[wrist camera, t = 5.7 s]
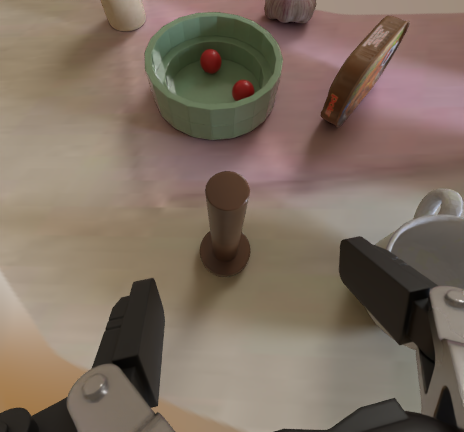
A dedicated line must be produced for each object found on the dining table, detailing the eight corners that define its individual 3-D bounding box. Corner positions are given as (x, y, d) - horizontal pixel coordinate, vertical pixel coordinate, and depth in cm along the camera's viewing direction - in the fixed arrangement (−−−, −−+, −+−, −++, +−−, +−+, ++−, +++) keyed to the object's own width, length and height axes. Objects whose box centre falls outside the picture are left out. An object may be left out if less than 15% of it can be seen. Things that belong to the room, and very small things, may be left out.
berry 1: (216, 61, 36) (215, 41, 34) (224, 74, 36) (225, 55, 33) (197, 67, 36) (195, 47, 33) (206, 80, 35) (204, 61, 32)
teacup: (443, 375, 24) (544, 400, 16) (328, 319, 25) (374, 318, 18) (462, 241, 28) (547, 212, 21) (365, 200, 30) (413, 161, 22)
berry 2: (247, 90, 35) (249, 71, 32) (257, 105, 34) (259, 87, 31) (228, 96, 34) (228, 78, 32) (237, 112, 33) (238, 94, 31)
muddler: (236, 222, 28) (247, 139, 15) (257, 263, 27) (291, 210, 14) (193, 241, 27) (167, 170, 14) (213, 285, 26) (203, 250, 13)
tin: (329, 140, 33) (362, 84, 25) (308, 127, 33) (333, 68, 26) (383, 74, 37) (425, 9, 30) (363, 64, 38) (400, -3, 30)
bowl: (241, 42, 39) (244, 0, 34) (295, 117, 34) (308, 82, 29) (140, 72, 36) (126, 31, 31) (182, 160, 31) (174, 128, 26)
